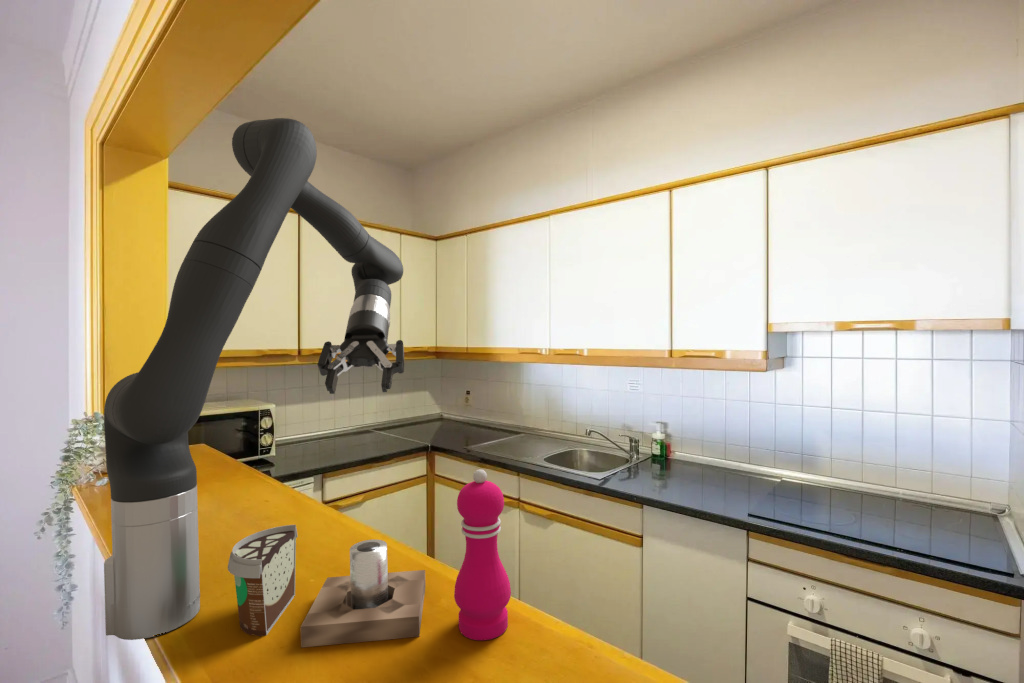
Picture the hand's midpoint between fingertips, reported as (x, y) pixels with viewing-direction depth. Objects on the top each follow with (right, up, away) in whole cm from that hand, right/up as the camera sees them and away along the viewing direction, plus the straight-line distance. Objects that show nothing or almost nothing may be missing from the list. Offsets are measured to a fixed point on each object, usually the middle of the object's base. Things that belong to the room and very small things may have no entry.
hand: (357, 390), depth 79 cm
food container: (-9, -29, -15) cm, 34 cm away
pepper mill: (+22, -28, -18) cm, 40 cm away
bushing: (+6, -29, -15) cm, 33 cm away
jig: (+6, -29, -15) cm, 33 cm away
